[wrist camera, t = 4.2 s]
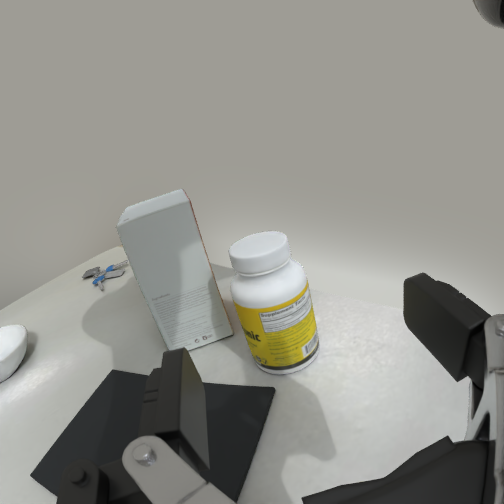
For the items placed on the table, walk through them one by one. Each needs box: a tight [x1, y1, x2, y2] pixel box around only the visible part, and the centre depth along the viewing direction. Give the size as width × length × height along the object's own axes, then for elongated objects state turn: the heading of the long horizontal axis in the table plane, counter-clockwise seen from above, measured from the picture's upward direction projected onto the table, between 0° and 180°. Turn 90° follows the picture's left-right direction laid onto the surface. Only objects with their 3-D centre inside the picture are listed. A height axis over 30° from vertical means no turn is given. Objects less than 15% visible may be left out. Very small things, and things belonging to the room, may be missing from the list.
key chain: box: [82, 260, 128, 290], centre depth 53 cm, size 14×8×1 cm, turn 47°
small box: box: [116, 189, 233, 351], centre depth 29 cm, size 8×6×13 cm
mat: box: [30, 370, 275, 503], centre depth 18 cm, size 16×14×1 cm
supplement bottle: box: [229, 231, 319, 374], centre depth 23 cm, size 5×5×10 cm
